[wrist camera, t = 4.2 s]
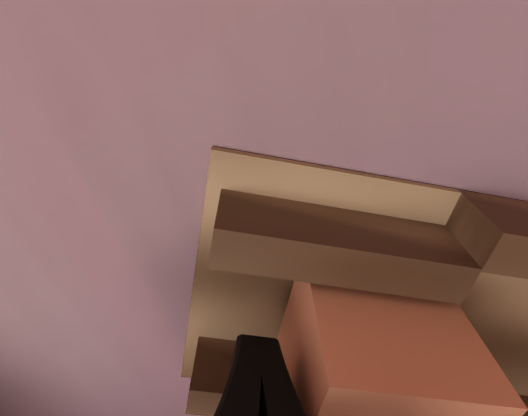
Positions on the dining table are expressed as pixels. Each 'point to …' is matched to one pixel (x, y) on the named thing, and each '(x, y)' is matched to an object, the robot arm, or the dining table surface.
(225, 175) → the chute
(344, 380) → the block
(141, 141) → the dining table surface
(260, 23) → the dining table surface
